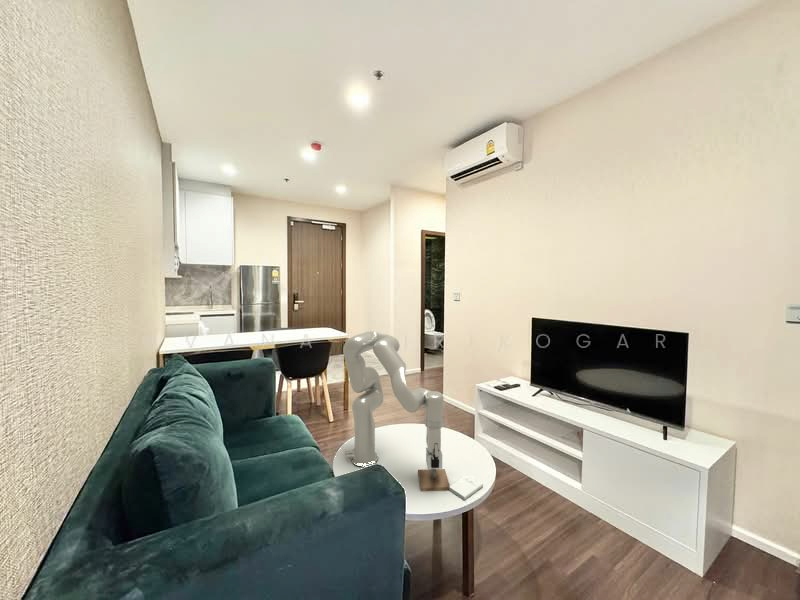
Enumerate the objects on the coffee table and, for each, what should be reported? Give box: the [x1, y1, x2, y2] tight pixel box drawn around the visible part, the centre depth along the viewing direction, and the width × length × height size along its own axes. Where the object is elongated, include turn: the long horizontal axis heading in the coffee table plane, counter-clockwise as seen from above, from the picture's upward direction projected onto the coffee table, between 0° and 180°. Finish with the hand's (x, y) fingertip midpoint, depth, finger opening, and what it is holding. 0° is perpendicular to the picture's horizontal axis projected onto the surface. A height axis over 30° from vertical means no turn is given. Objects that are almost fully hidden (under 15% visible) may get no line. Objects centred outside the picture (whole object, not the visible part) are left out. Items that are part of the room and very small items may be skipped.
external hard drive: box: [448, 474, 484, 501], centre depth 134 cm, size 2×8×12 cm
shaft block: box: [417, 468, 451, 492], centre depth 138 cm, size 12×12×6 cm
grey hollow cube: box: [425, 447, 443, 469], centre depth 137 cm, size 6×6×6 cm
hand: (433, 462), depth 137 cm, fingers closed on grey hollow cube, 6 cm apart
